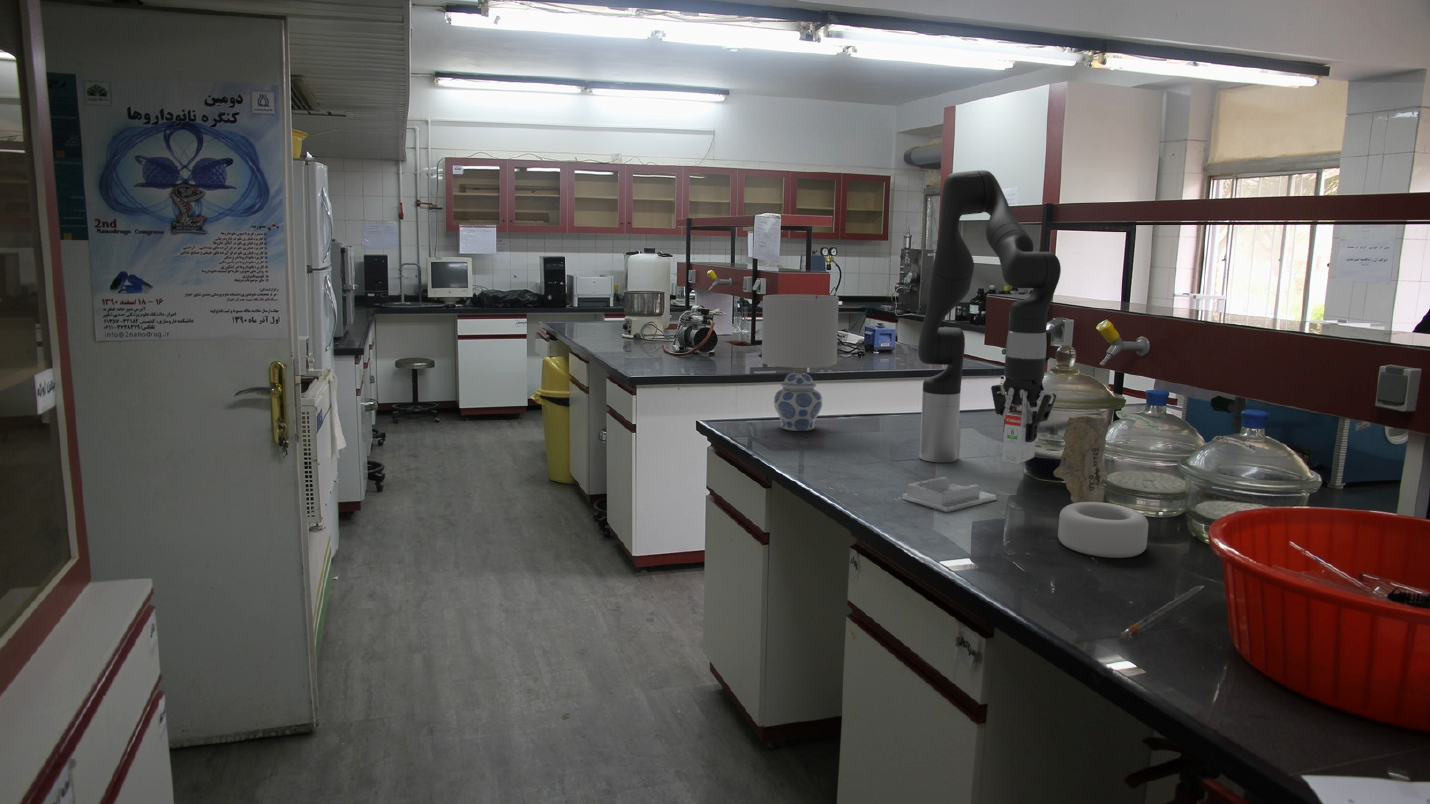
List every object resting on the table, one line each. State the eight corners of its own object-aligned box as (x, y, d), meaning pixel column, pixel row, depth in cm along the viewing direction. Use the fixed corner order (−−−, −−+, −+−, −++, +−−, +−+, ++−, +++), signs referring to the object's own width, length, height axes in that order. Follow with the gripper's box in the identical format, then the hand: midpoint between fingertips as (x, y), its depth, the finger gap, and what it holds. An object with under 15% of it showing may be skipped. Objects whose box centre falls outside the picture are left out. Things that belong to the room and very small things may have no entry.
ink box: (1001, 462, 187) (1005, 390, 184) (1017, 455, 192) (1021, 385, 190) (1019, 465, 184) (1023, 392, 182) (1035, 458, 190) (1039, 387, 187)
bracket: (951, 487, 210) (952, 472, 210) (995, 499, 201) (996, 483, 200) (902, 498, 201) (903, 482, 200) (946, 512, 191) (947, 495, 191)
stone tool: (1099, 503, 198) (1107, 410, 195) (1114, 511, 193) (1122, 416, 189) (1044, 505, 197) (1051, 411, 194) (1057, 513, 191) (1064, 417, 188)
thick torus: (1139, 565, 162) (1142, 528, 160) (1049, 550, 169) (1051, 514, 168) (1151, 542, 174) (1154, 507, 173) (1067, 528, 182) (1069, 495, 181)
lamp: (838, 436, 263) (843, 299, 256) (761, 435, 263) (764, 299, 256) (830, 421, 284) (834, 294, 277) (759, 420, 284) (761, 294, 278)
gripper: (1069, 357, 181) (1062, 443, 184) (1006, 348, 192) (1001, 430, 195) (1045, 360, 176) (1039, 449, 180) (983, 351, 188) (978, 435, 191)
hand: (1019, 438), depth 188 cm, fingers closed on ink box, 4 cm apart
